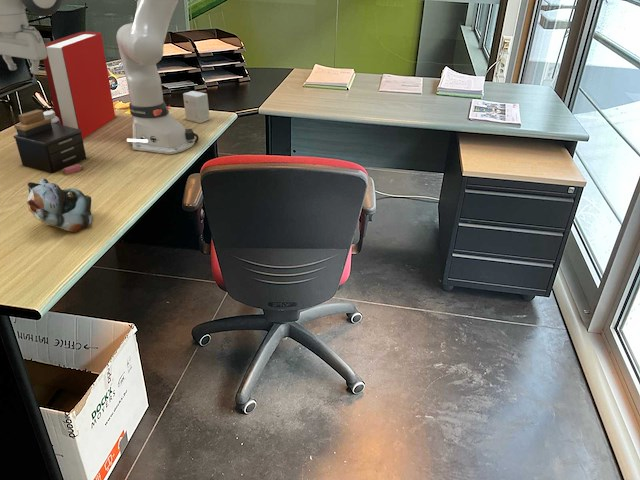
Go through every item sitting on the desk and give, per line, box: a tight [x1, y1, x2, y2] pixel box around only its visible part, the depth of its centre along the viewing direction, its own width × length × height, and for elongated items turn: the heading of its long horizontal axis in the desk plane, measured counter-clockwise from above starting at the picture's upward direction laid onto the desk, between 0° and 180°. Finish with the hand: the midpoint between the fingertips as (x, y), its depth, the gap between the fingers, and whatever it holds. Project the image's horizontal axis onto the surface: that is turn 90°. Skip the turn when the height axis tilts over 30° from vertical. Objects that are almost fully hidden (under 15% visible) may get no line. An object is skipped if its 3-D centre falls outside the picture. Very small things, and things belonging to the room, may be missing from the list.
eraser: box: [62, 163, 82, 175], centre depth 169 cm, size 5×2×1 cm, turn 140°
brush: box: [13, 108, 52, 137], centre depth 169 cm, size 4×10×6 cm, turn 154°
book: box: [42, 30, 116, 139], centre depth 197 cm, size 27×8×32 cm, turn 172°
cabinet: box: [13, 123, 87, 175], centre depth 173 cm, size 14×14×10 cm
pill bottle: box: [43, 110, 61, 125], centre depth 190 cm, size 5×5×10 cm
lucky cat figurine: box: [26, 178, 94, 233], centre depth 137 cm, size 15×12×14 cm
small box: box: [182, 90, 211, 124], centre depth 213 cm, size 8×6×10 cm
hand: (24, 71), depth 164 cm, fingers open, 8 cm apart
